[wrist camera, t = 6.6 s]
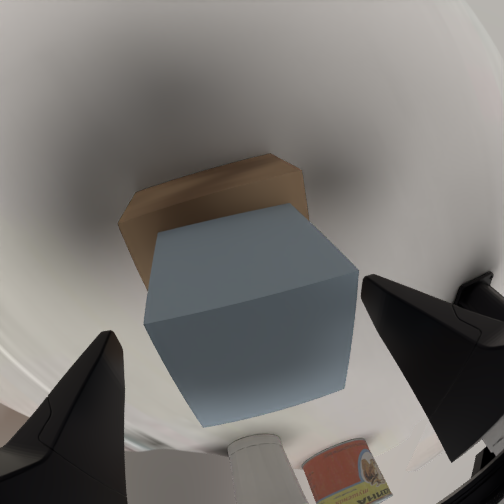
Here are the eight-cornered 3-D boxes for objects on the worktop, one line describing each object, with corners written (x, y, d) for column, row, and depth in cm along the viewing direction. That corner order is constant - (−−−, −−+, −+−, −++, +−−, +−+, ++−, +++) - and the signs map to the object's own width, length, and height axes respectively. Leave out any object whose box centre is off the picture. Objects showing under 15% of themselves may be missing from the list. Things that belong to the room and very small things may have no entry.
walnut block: (269, 152, 14) (301, 170, 10) (290, 266, 18) (319, 311, 14) (136, 191, 14) (117, 223, 10) (179, 299, 17) (181, 353, 13)
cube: (289, 202, 11) (359, 270, 6) (298, 305, 13) (344, 388, 9) (157, 232, 10) (143, 324, 6) (192, 331, 13) (202, 427, 8)
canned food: (376, 437, 38) (404, 489, 28) (330, 467, 41) (351, 516, 31) (339, 438, 33) (370, 504, 23) (288, 470, 36) (308, 529, 26)
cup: (226, 461, 30) (244, 540, 19) (214, 439, 26) (235, 538, 15) (286, 449, 31) (313, 525, 20) (287, 424, 27) (322, 518, 16)
